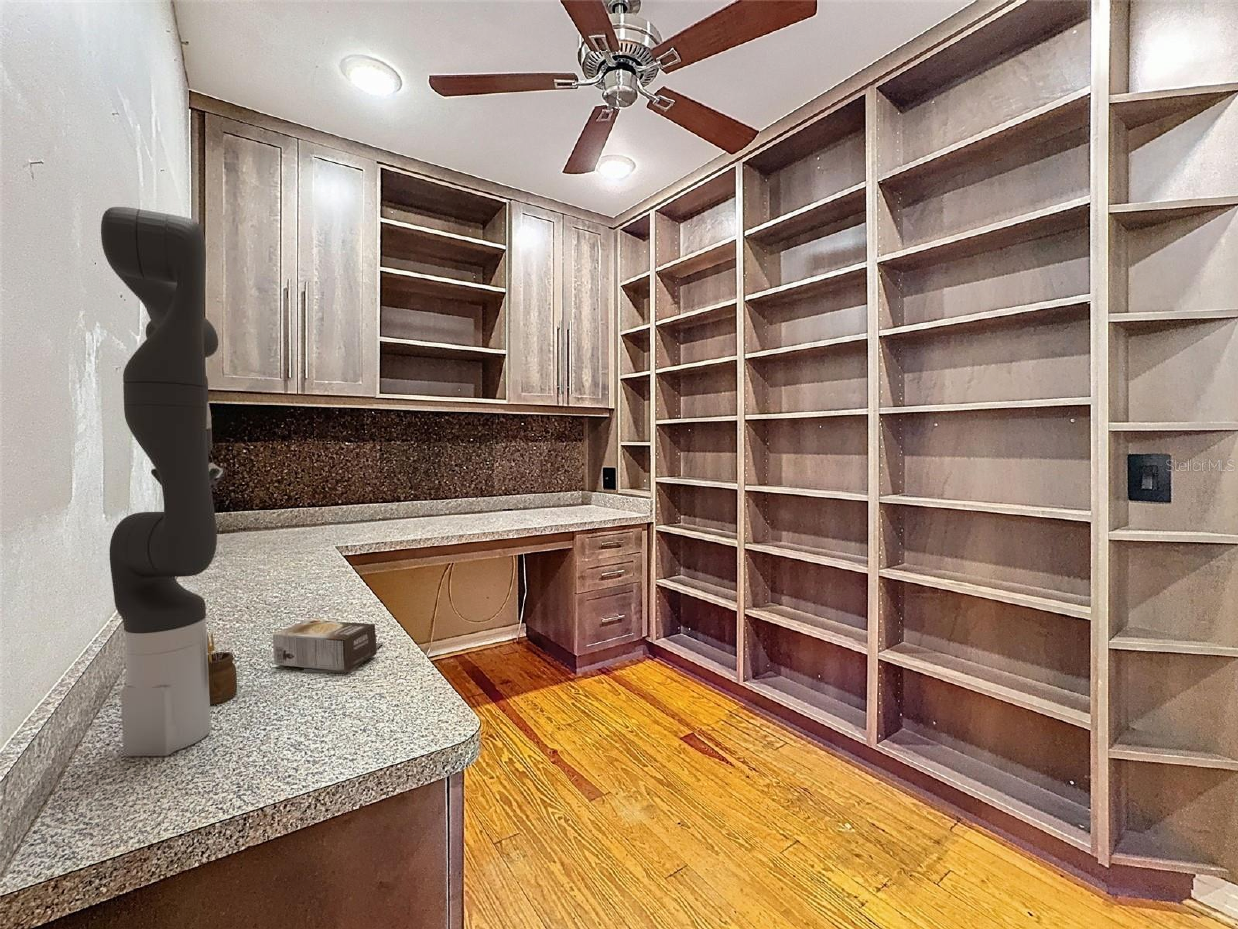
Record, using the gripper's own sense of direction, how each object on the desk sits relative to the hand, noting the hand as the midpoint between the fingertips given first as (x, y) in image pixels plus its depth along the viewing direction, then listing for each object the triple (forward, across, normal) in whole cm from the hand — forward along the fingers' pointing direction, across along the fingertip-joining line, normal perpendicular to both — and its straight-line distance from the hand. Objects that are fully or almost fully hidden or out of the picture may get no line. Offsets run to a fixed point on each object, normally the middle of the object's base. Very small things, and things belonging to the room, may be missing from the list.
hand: (190, 517), depth 106 cm
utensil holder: (+29, +13, -13) cm, 35 cm away
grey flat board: (+29, +26, +4) cm, 39 cm away
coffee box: (+25, +16, +4) cm, 30 cm away
